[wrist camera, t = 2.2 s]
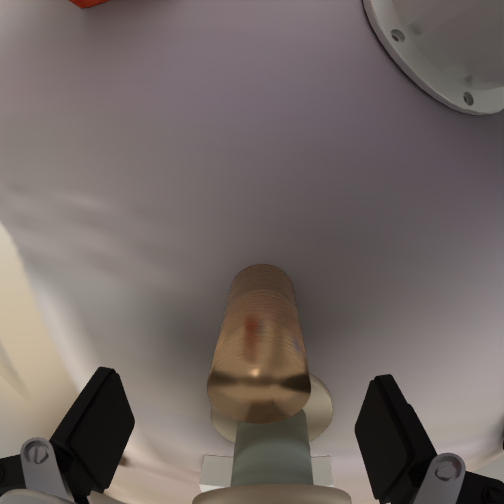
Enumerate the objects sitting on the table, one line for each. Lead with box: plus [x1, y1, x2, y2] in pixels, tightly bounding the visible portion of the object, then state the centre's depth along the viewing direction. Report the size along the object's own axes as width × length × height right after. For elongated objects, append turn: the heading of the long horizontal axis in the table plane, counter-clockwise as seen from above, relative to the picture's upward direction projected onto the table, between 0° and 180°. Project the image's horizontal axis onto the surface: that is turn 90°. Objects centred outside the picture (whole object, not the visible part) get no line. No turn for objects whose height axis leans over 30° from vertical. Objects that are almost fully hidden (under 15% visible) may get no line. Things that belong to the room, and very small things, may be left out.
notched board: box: [199, 455, 334, 493], centre depth 23 cm, size 14×12×4 cm
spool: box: [192, 374, 352, 504], centre depth 15 cm, size 9×9×10 cm
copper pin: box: [207, 264, 311, 424], centre depth 13 cm, size 4×4×8 cm
